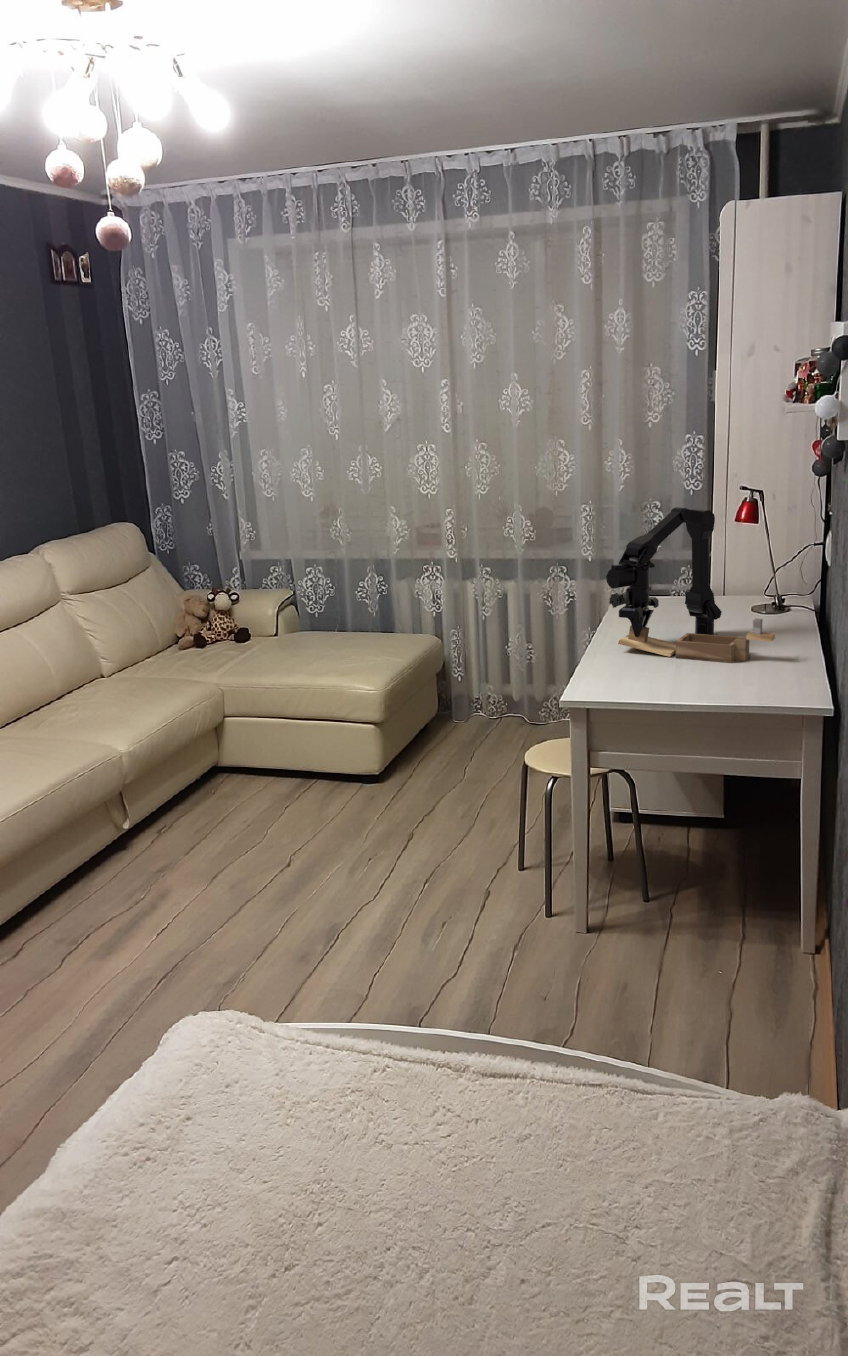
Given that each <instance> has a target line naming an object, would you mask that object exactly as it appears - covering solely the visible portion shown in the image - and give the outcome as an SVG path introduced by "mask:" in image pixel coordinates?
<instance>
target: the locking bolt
mask: <svg viewBox="0 0 848 1356" xmlns="http://www.w3.org/2000/svg"><path fill="white" fill-rule="evenodd" d="M763 620H764V619H763V618H756V617H755V618H754V619H753V620H752V630H750V631H749V632H747V633H746V637H747V638H746V639H747V640H750V641H762V642H773V641H774V640H775V639H776V632H768V631H767V632H766V631H763V624H764V622H763Z"/></svg>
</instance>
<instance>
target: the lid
mask: <svg viewBox="0 0 848 1356" xmlns="http://www.w3.org/2000/svg"><path fill="white" fill-rule="evenodd" d="M649 633H650V627H648V626H646V627H644V626H642V629H641V632H640V635H639V637H635V635H634V631H633V628H632V625H631V624H630V626H629V632H628V634H627V635H625V636H623V637H622V638H621V639H619V640H618V641H617V642H618V645H620V646H625V647H628V648H632V649H637V650H641V651H645V652H649V653H653V654H656V655H657V654H658V655H661V656H664V657H672V656H673V655H674V654H676V642H671V641H667V640H663V639H659V638H655V637H650V636H649Z"/></svg>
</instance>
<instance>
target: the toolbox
mask: <svg viewBox="0 0 848 1356" xmlns="http://www.w3.org/2000/svg"><path fill="white" fill-rule="evenodd" d="M746 638H747V636H741V635H739V636H731V635H729V636H728V635H718V634H717V635H706V634H695V633H693V632H692V633H691V632H687V633H685V634H683V635H682V636H681V637H680V638H678V639H677V640H676V641H675V643H676V653H675V656H674V657H675V659H680V660H681V659H683V660H693V661H705V662H717V663H728V664H731V663H733V662H735V661H736V662H746V661H747V660H748V659H749V658H750V645H751V643H750V641H751V640H747V639H746Z"/></svg>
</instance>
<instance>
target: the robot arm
mask: <svg viewBox="0 0 848 1356" xmlns="http://www.w3.org/2000/svg"><path fill="white" fill-rule="evenodd" d="M715 521H716V516H715V513H714V512H713V511H712V510H710V509H698V508H692V509H689V508H687V507H680V506H676V507H673V508H672V509H671V510H670V512H669V513H668V514H667V515H666V516H664V517H663V518H662V519H661V520H660V521H659V522H657V524H656V525H654V527H652V528H651V529H650V530H649V531H648V532H646V533H644V534H643V535H640V536H637V537H636V538H634V539H632V540H630V541H629V542H628V543H627V544H626V545H625V548H626V549H625V550H624V552H623V553H622V556H621V557H620V560H619V561H618V564H611V565H610V566H611V567H610V569H609V570H608V571H607V573H606V576H605V578H606V582H607V585H608V587H610V589H619V588H625V587H626V589H625V592H622V593H618V592H615V593H612V594H610V597H609V602H608V603H609V605H611V606H612V609H613V608H614V609H615V608H617V607H619V606H622V605H624V606H623V607H620V608H619V610H618V618H624V619H625V618H627V619H628V620H629V623H630V626H631V625H632V628H633V631H634V635H635V637H639V635H640V632H641V629H642V626H644V627H647V626H648V623H649V620H650V619H651V617H652V616H653V615H652V614H653V613H654V609H650V607H652V608H655V609H657V608H658V607H659V602H660V601H659V598H657V597H655V596H650V591H651V590H652V586H651V585H650V569H652V568H655V567H656V565H655V564H654V563H653V562H652V561H651V560H652V558H653V557H654V556H655V555H656V553H657V551H658V548H659V546H660V544H661V543H663V542H664V541H665V540H666V539H667V538H668V537H669V536H670V535H671V534H673V533H674V531H676V530H677V529H678V528H679V527H680V526H681V525H683V524H685V527H686V531H687V533H688V534H689V537H690V538H691V586H690V588H689V590H688V591H687V590H686V591H685V593H684V595H685V596H684V597H685V599H684V600H685V601H684V605H686V609H687V610H688V611H687V612H688V614H689V615H688V616H690V617H695V623H694V624H695V625H694V634H706V635H718V632H715V621H716V620H718V619H721V617H722V613H723V612H722V610H721V609H720V608H719V606H718V605H717V604H716V601H715V594H714V592H713V590H712V589H711V586H710V584H709V583H710V581H709V579H710V577H709V576H710V572H709V571H710V570H709V569H710V568H709V567H710V566H709V565H710V564H709V563H710V562H709V561H710V559H709V549H710V547H709V546H710V545H709V542H710V537H711V536H712V534H713V532H714V529H715V523H716V522H715Z"/></svg>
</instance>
